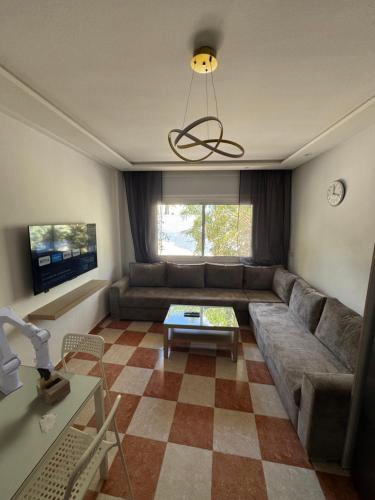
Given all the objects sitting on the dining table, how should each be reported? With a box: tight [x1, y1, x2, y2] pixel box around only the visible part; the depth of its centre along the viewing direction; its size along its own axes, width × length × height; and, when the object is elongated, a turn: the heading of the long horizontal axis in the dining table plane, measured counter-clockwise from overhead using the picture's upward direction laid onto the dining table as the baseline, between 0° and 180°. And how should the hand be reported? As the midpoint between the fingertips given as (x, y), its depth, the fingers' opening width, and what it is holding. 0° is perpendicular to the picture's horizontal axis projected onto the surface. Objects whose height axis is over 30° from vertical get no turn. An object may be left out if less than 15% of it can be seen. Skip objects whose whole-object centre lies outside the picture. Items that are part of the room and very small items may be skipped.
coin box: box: [36, 372, 71, 406], centre depth 116 cm, size 12×10×6 cm
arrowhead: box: [39, 412, 58, 434], centre depth 100 cm, size 7×2×10 cm
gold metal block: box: [36, 373, 53, 389], centre depth 113 cm, size 2×6×4 cm, turn 150°
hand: (45, 378), depth 114 cm, fingers closed on gold metal block, 2 cm apart
